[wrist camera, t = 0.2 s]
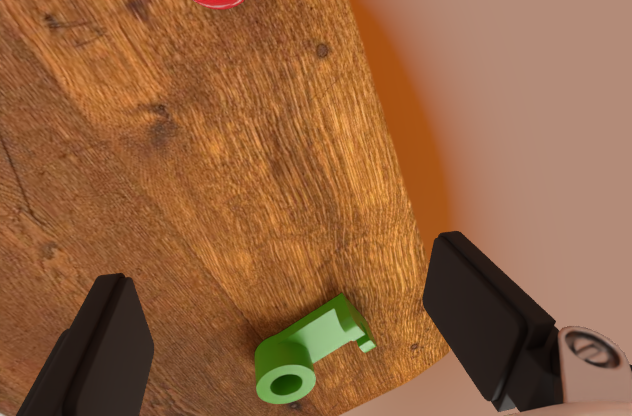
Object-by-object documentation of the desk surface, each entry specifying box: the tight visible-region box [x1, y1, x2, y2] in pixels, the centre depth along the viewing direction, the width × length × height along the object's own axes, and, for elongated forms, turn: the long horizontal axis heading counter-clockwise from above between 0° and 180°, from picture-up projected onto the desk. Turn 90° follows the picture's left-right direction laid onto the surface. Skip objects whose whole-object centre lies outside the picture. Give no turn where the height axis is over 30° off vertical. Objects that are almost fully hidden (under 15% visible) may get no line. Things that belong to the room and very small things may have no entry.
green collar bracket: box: [254, 293, 377, 404], centre depth 42 cm, size 15×7×5 cm, turn 123°
